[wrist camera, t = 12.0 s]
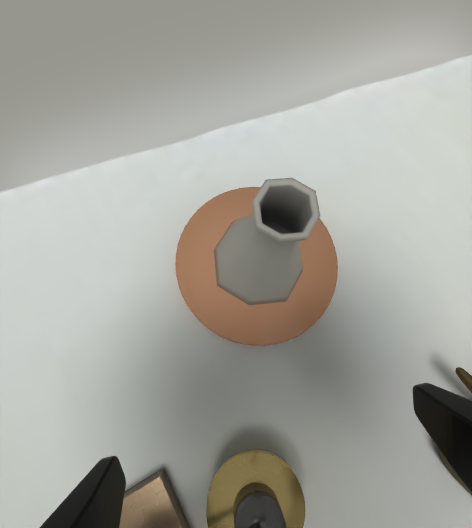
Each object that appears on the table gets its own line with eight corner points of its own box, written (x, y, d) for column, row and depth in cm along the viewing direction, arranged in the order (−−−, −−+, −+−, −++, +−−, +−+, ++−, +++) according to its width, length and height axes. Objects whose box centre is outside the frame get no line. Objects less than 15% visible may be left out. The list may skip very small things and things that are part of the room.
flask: (202, 295, 22) (190, 264, 12) (224, 210, 24) (227, 125, 14) (294, 315, 22) (354, 302, 12) (308, 229, 24) (371, 157, 14)
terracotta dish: (354, 232, 25) (360, 228, 24) (296, 374, 22) (300, 376, 21) (221, 169, 26) (221, 163, 25) (147, 298, 23) (144, 297, 22)
